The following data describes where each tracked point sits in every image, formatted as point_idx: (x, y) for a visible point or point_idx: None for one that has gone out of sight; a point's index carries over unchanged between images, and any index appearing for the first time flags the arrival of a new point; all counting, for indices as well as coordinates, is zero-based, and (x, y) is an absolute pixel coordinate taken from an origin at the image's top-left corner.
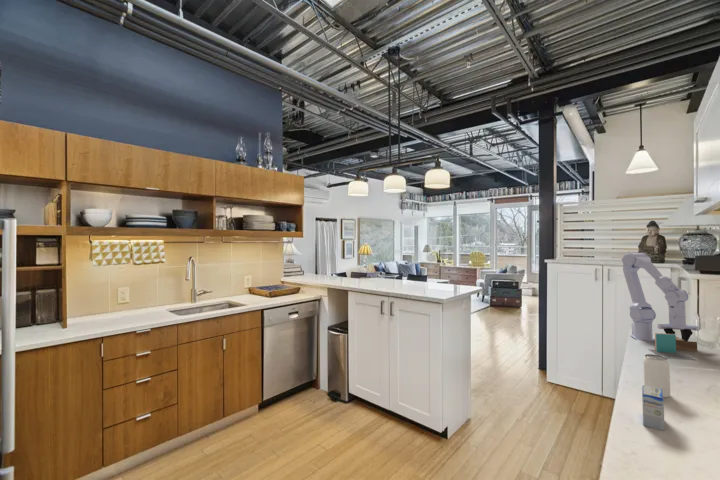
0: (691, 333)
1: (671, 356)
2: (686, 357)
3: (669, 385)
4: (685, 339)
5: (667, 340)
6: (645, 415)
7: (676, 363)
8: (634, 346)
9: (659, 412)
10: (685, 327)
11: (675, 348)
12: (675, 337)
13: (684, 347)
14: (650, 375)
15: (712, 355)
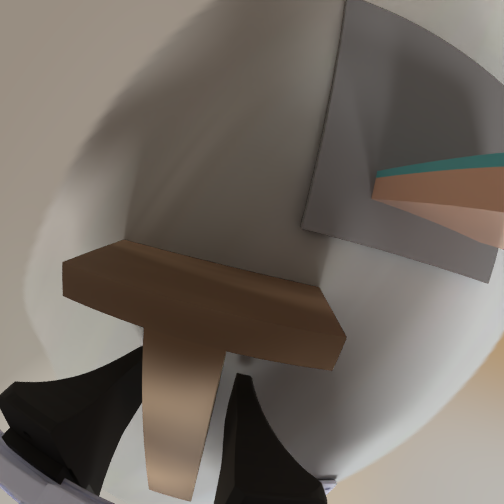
0: (21, 387)
1: (462, 92)
2: (377, 47)
3: None
4: (118, 381)
5: None
6: None
7: (467, 21)
8: (471, 367)
9: None
10: (30, 493)
11: (402, 170)
12: (501, 153)
13: (210, 275)
14: None
15: (79, 158)
